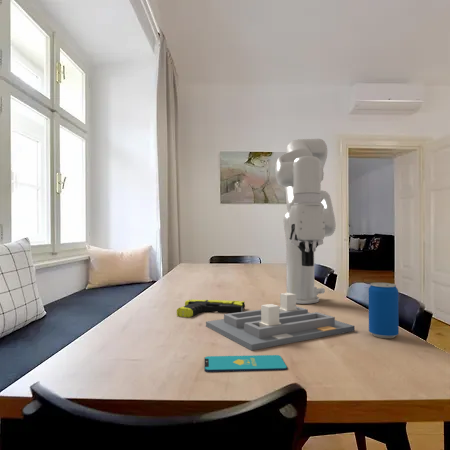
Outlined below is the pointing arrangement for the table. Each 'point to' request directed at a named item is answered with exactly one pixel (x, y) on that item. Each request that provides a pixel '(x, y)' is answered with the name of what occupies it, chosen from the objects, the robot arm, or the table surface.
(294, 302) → the tab
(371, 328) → the beverage can
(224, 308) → the stun gun
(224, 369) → the smartphone
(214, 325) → the switch board
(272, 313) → the tab
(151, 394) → the table surface
